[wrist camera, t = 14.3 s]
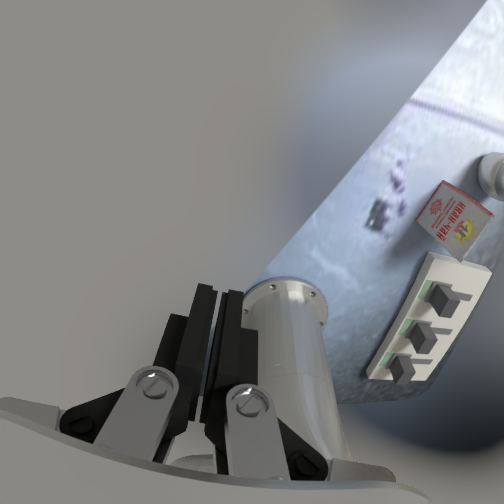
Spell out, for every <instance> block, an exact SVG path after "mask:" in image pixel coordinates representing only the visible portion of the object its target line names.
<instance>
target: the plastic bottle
mask: <svg viewBox="0 0 504 504" xmlns="http://www.w3.org/2000/svg"><path fill="white" fill-rule="evenodd" d="M478 180H479V183H480V186H481V188H482V189H483V190H484V191H485V192H486V193H487V194H488V195H489V196H490V197H492V198H494V199H497V200H500V201H504V153H499V152H492V153H489V154H487V155H486V156H485V157H484V158H483V159H482V160H481V162H480V164H479V167H478Z"/></svg>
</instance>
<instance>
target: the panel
mask: <svg viewBox="0 0 504 504" xmlns="http://www.w3.org/2000/svg"><path fill="white" fill-rule="evenodd" d="M491 274H492V273H491V272H490V271H489V270H488V269H487V268H486V267H485V266H481V265H478V264H474V263H470V262H467V261H462V262H461V263H460V262H459V261H458V260H457V259H456V258H452V257H449V256H445V255H441V254H437V253H434V252H430V251H428V254H427V256H426V258H425V260H424V263H423V265H422V267H421V269H420V271H419V274H418V276H417V278H416V280H415V282H414V284H413V286H412V288H411V290H410V292H409V294H408V296H407V298H406V300H405V302H404V304H403V306H402V308H401V310H400V312H399V314H398V315H397V317H396V319H395V321H394V323H393V325H392V327H391V328H390V330H389V332H388V334H387V336H386V337H385V339H384V341H383V343H382V344H381V346H380V348H379V349H378V351H377V353H376V354H375V356H374V358H373V359H372V361H371V363H370V364H369V366H368V368H367V369H366V373H367V376H368V379H385V380H394V379H393V377H392V374H391V371H390V369H385V368H386V366H387V365H388V363H389V361H390V360H391V358H392V357H393V355H394V353H402V354H412V356H411V358H410V360H411V362H412V364H413V367H414V369H415V371H416V373H415V375H414V376H413V377H412V379H411V380H426V379H427V378H428V376H429V375H430V374H431V372H432V371H433V370H434V368H435V367H436V365H437V364H438V363H439V361H440V360H441V358H442V357H443V355H444V354H445V352H446V351H447V349H448V348H449V346H450V345H451V343H452V342H453V340H454V339H455V337H456V336H457V334H458V333H459V331H460V329H461V328H462V326H463V325H464V323H465V321H466V320H467V318H468V316H469V315H470V313H471V311H472V309H473V308H474V306H475V304H476V302H477V301H478V299H479V297H480V295H481V293H482V292H483V290H484V288H485V286H486V284H487V282H488V280H489V278H490V276H491ZM434 281H439V282H443V283H448V284H452V285H453V286H452V288H451V289H452V290H453V292H454V293H455V294H456V296H457V297H458V298H459V299H460V301H461V302H460V303H459V305H458V307H457V309H456V310H455V312H454V314H453V316H452V317H451V318H444V317H439V316H438V314H437V313H436V311H435V310H434V308H433V307H432V305H431V304H430V303H427V302H424V301H425V299H426V297H427V295H428V293H429V291H430V289H431V287H432V285H433V283H434ZM414 320H421V321H429V322H432V324H431V326H430V327H431V328H432V330H433V332H434V334H435V335H436V337H437V339H438V341H437V342H436V344H435V345H434V347H433V348H432V350H431V351H430V353H429V354H417V353H416V351H415V349H414V347H413V345H412V343H411V341H410V339H407V338H404V337H405V335H406V334H407V332H408V330H409V329H410V327H411V325H412V323H413V322H414Z"/></svg>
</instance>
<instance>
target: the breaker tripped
mask: <svg viewBox="0 0 504 504" xmlns="http://www.w3.org/2000/svg"><path fill="white" fill-rule="evenodd" d="M452 286H453V285H452V284H448V283H443V282H439V281H434V283H433V285H432V287H431V289H430V291H429V293H428V295H427V297H426V299H425V301H424V302H427V303H430V304H431V305H432V307H433V308H434V310H435V311H436V313H437V314H438V316H439V317H444V318H451V317H452V316H453V314H454V312H455V310H456V309H457V307H458V305H459V303H460V302H461V301H460V299H459V298H458V297H457V296H456V294H455V293H454V292H453V290H452V289H451V288H452Z"/></svg>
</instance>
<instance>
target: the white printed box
mask: <svg viewBox="0 0 504 504" xmlns="http://www.w3.org/2000/svg"><path fill="white" fill-rule="evenodd" d="M493 217H494V215H493V214H492V213H491V212H490V211H488V210H487V209H486V208H484V207H483V206H482V205H481V204H479V203H478V202H477V201H475V200H474V199H473V198H472V197H470V196H469V195H468V194H466V193H465V192H463V191H461V190H460V189H458V188H456V187H455V186H453V185H451V184H449V183H448V182H446V181H444V180H443V181H442V182H441V184H440V185H439V187H438V188H437V190H436V191H435V193H434V194H433V196H432V197H431V198H430V200H429V201H428V203H427V204H426V206H425V207H424V208H423V210H422V211H421V213H420V214H419V216H418V217H417V218H416V221H417V222H418V223H419V224H420V225H421V226H422V227H423V228H424V229H425V230H426V231H427V232H428V233H429V234H430V235H431V236H432V237H433V238H434V239H436V240H437V241H438V242H439V243H440V244H441V245H442V246H443V247H444V248H445V249H446V250H447V251H448V252H449V253H450V254H451V255H452V256H454V257H455V258H456V259H457V260H458V261H459V262H460V263H461V262H462V261H463V259H464V258H465V257H466V255H467V254H468V253H469V251H470V250H471V249H472V247H473V246H474V245H475V243H476V242H477V240H478V239H479V238H480V236H481V235H482V233H483V232H484V230H485V229H486V228H487V226H488V225H489V223H490V222H491V220H492V219H493Z"/></svg>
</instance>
